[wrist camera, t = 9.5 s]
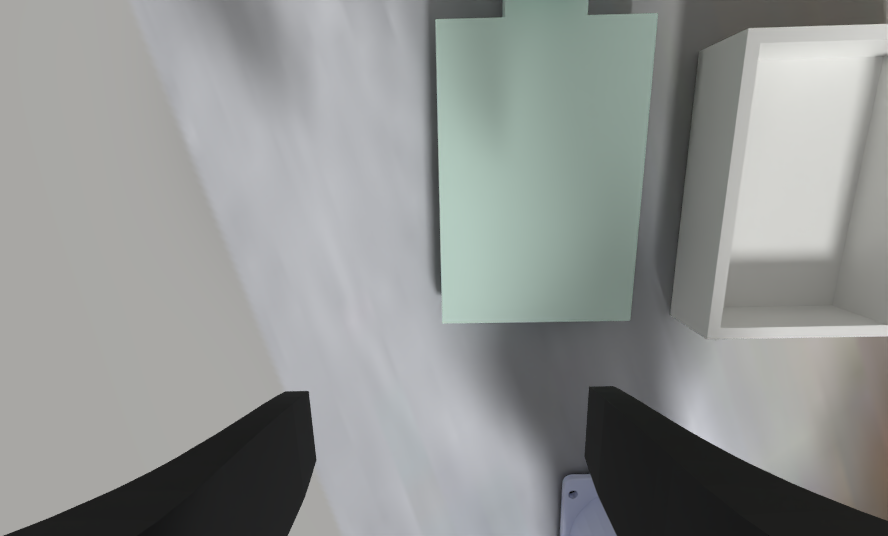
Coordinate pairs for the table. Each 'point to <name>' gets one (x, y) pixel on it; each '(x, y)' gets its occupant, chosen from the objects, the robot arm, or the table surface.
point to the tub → (787, 186)
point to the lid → (541, 161)
